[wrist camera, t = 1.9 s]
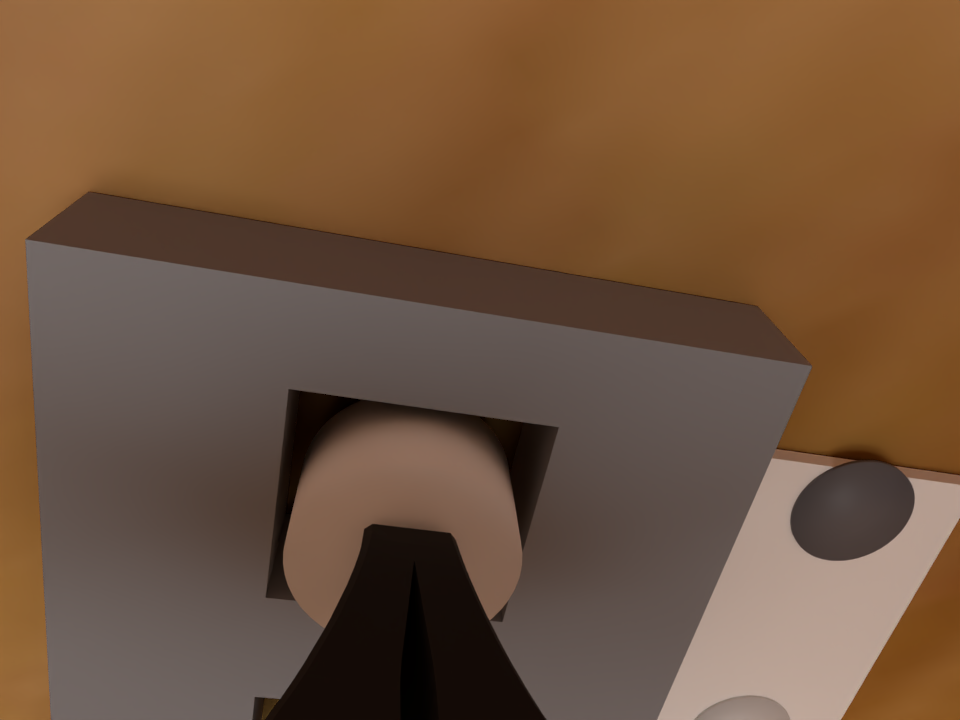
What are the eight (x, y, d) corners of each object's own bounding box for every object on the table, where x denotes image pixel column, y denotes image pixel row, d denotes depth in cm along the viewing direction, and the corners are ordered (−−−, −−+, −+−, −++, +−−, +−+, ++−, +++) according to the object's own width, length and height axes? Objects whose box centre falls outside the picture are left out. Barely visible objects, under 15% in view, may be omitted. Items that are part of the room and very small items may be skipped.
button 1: (530, 409, 14) (547, 483, 12) (486, 571, 16) (495, 659, 14) (313, 377, 14) (295, 449, 12) (291, 549, 15) (272, 638, 13)
